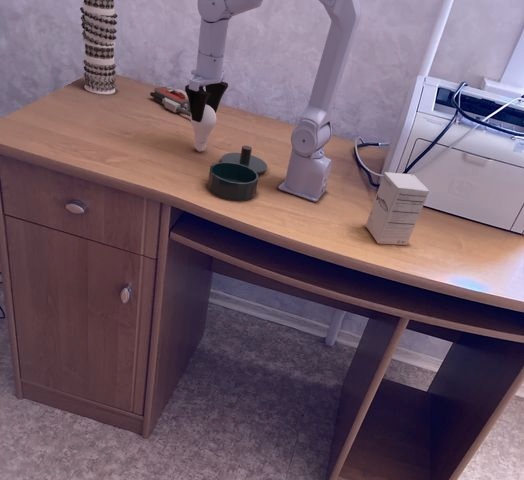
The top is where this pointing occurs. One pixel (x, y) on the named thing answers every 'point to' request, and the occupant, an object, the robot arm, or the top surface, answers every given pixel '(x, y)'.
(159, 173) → the top surface
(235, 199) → the dark bowl
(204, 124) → the lightbulb
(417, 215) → the white packaging box
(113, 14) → the decorative candle
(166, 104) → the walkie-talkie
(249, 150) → the pan lid
